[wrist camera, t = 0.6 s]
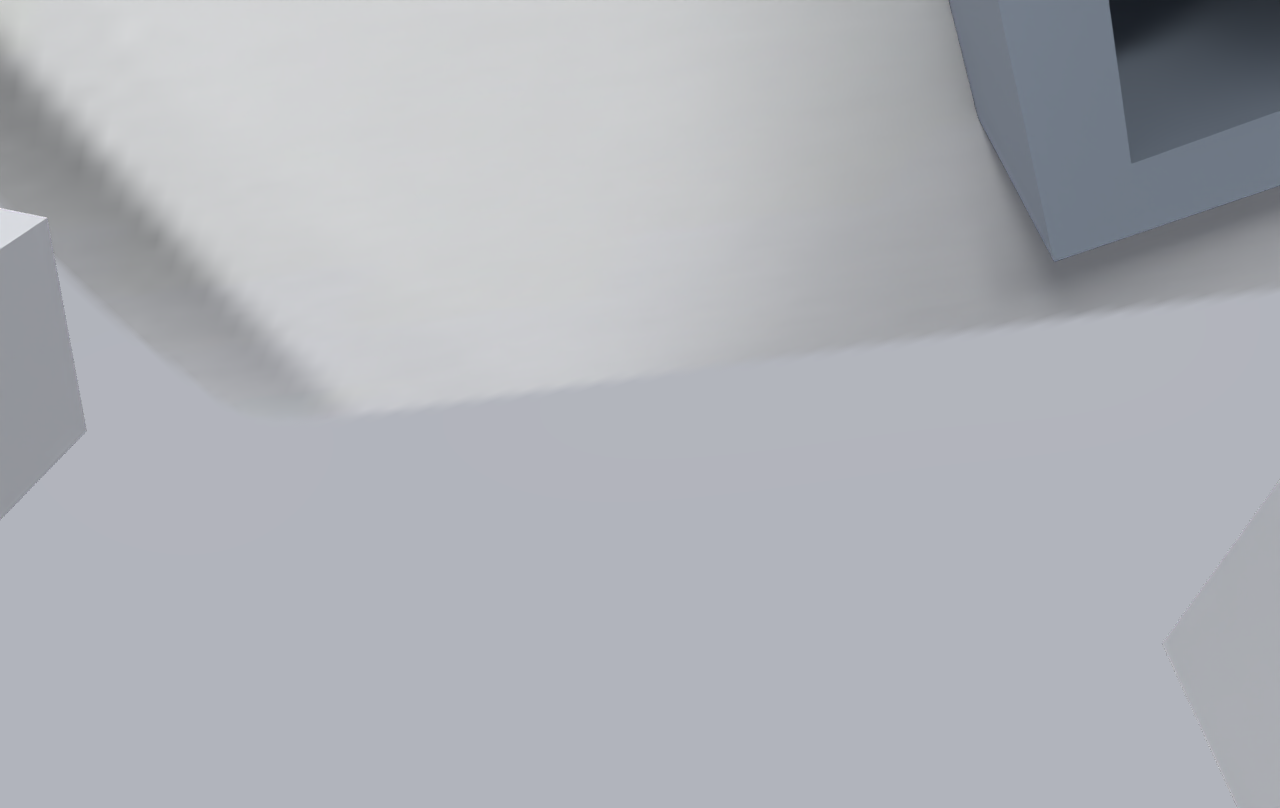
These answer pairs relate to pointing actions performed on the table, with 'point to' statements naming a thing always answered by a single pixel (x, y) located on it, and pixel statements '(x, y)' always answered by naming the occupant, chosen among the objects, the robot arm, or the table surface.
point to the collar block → (1125, 108)
